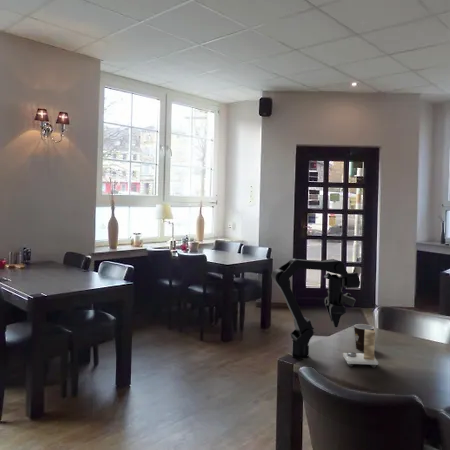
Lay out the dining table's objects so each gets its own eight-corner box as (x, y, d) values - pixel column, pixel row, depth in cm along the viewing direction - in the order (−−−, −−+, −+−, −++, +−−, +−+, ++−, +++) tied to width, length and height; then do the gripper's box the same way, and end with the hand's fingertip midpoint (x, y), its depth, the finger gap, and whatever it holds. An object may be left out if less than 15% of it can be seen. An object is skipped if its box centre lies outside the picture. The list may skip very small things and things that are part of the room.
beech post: (363, 358, 184) (364, 332, 184) (363, 355, 188) (364, 329, 188) (374, 359, 183) (374, 333, 183) (374, 356, 187) (374, 330, 186)
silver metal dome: (348, 356, 187) (348, 354, 187) (346, 353, 190) (346, 351, 190) (357, 357, 186) (357, 355, 186) (355, 354, 190) (355, 352, 190)
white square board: (347, 367, 182) (347, 361, 181) (342, 358, 192) (343, 352, 191) (378, 368, 181) (378, 362, 181) (371, 359, 191) (372, 353, 191)
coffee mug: (374, 352, 200) (375, 330, 200) (354, 350, 202) (354, 328, 201) (371, 344, 211) (372, 323, 211) (352, 342, 213) (352, 321, 213)
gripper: (358, 293, 186) (357, 331, 187) (349, 285, 205) (348, 319, 206) (331, 293, 187) (330, 330, 188) (324, 284, 206) (324, 318, 206)
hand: (334, 324), depth 197 cm, fingers open, 9 cm apart
